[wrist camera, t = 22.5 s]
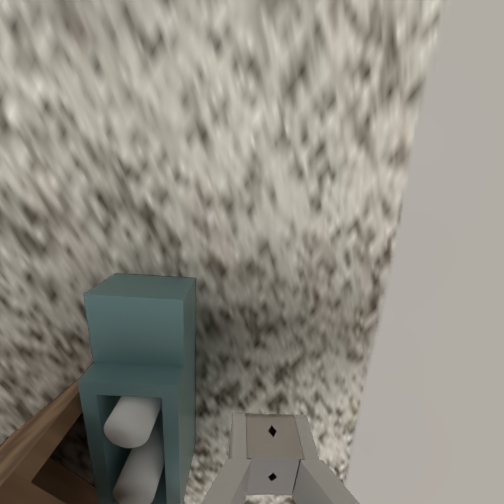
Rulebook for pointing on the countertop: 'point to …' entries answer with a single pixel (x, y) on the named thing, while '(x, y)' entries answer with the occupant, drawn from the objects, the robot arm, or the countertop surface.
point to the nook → (43, 458)
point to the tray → (141, 387)
